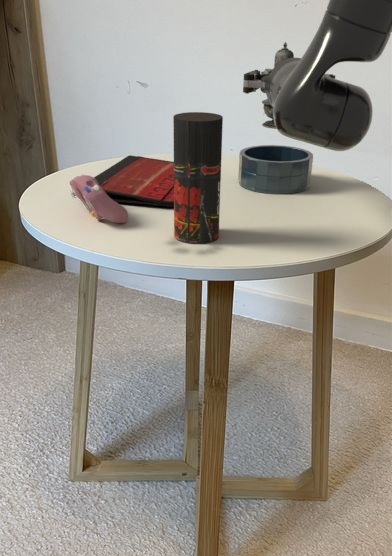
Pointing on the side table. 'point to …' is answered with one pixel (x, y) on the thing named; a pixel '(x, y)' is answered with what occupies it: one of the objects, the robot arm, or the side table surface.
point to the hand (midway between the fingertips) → (279, 76)
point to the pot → (275, 169)
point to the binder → (139, 181)
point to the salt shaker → (268, 109)
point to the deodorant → (197, 176)
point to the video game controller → (97, 199)
